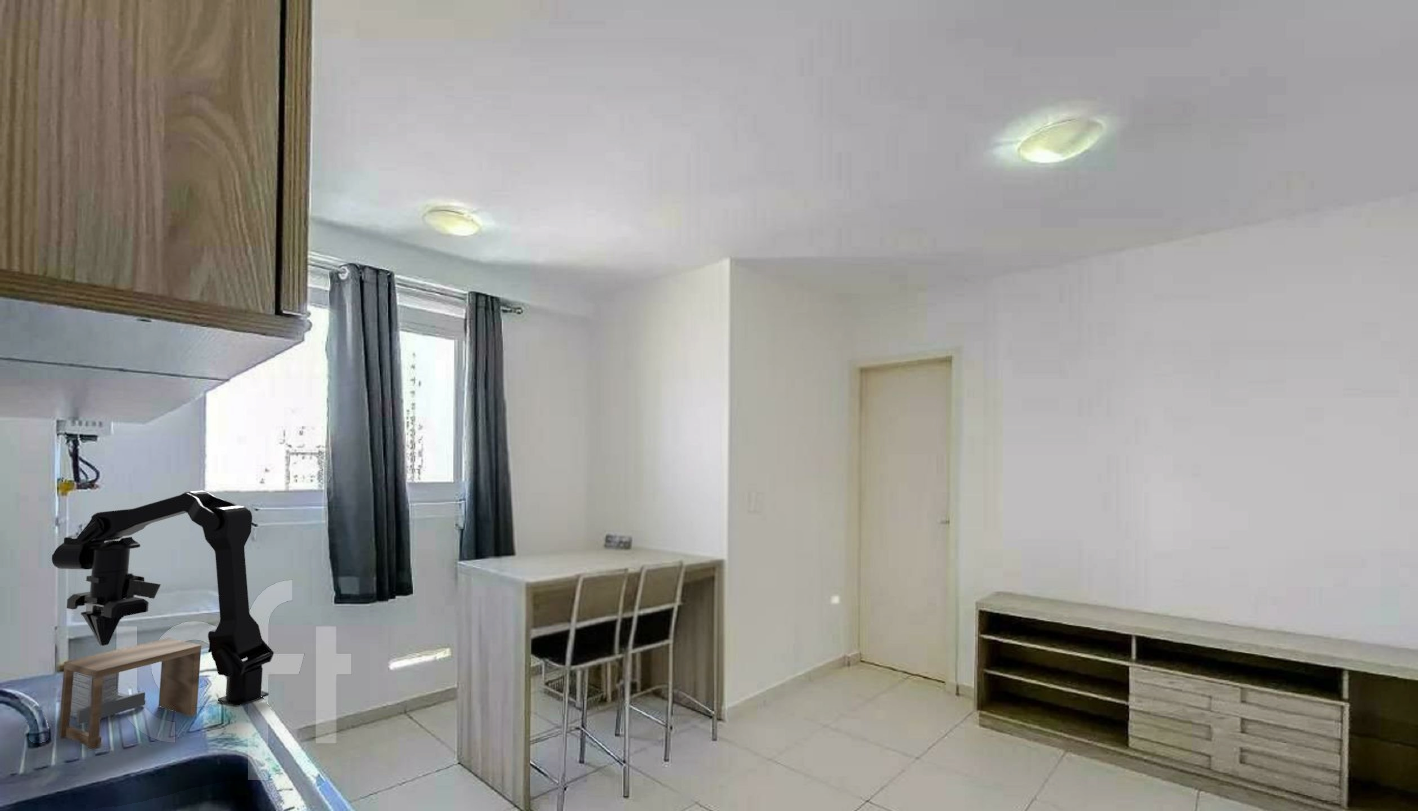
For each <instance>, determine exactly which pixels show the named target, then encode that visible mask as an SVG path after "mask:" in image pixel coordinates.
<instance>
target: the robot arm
mask: <svg viewBox="0 0 1418 811" xmlns="http://www.w3.org/2000/svg"><path fill="white" fill-rule="evenodd" d="M184 514H187V515H188V516H189V518H190V520H191V521H192V522H194V523H195V524H196V525H198V526H200V527H201V528H202V531H203V535H204V539H205V541H206V542H207V543H208V545H209V546H210V547H211V548H212V550H214V553H215V566H216V567H215V568H216V579H217V580H216V582H217V597H218V607H219V608H218V610H219V622H218V624H217V627H216V628H215V629H213V630H210V631H208V632H207V640H208V642H209V645H208V646H209V647H208V651H207V652H208V653H211V654H210V655H211V658H212V660H213V661H214V664H215V668H216V670H217V675H219V676H224V677H226V684H225V685H226V687H225V695H224V696H222V697H219V698H217V702H220V703H222V702H223V704H226V705H231V706H233V707H238V706H241V705H244V704H247V703H249V702H253V701H256V700H260V699H261V698H265V697H268V696H269V692H267V691H264V690H262V685H263V670H264V668H263V665H265V664H267V663H271V661H272V659H273V656H274V653H275V652H274V651H273V650H272V648H270V646H269V645H268V644H267V643H266V642H265V641H264V640H263V638H262V634H261V633H262V632H261V631H260V626H259V624H258V623H257V621H256V620H255V619H254V618H253V617H252V616H251V614H250V603H249V591H248V579H247V566H246V565H247V564H246V556H245V555H246V554H245V553H246V552H245V546H246V544H247V542H248V540H249V538H250V536H251V533H252V527H253V526H252V525H253V524H252V523H253V514H252V512H251V510H250V509H248V508H246V506H243V505H238V504H236V503H235V502H231V501H230V500H228V499H225V498H224V499H223V498H221V497H217V496H215V495H213V494H212V493H211V492H208V491H205V490H194V491H192V490H191V491H185V492H183V493H182V494H179V495H176V496H172V497H168V498H166V499H162V500H158V501H155V502H151V503H149V504H148V503H147V504H144V505H141V506H138V507H135V508H128V509H119V510H118V509H117V510H108V511H107V510H106V511H99V512H96V513H94V514H93V515H92V516H91V517H90V518H91V519H90V520H89V522H88V523H87V524H86V526H85V527H84V528H83V529H82V531H81V532H80V533H79V534H78V536H76V535H75V536H65V537H64V538H63V543H61V544H60V545H59V546H57V548H56V549H55V550H54V551H53V554H52V555H51V563H52V564H53V566H54V567H55V568H57V569H61V570H62V569H63V570H91V574H90V575H86V576H85V577H86V579H85V581H86V582H89V583H90V586H89V587H90V588H89V591H86V592H85V591H84V592H79V593H73V594H72V595H71V596H69V597H68V599H67V600H66V609H69V610H77V609H78V607H83V606H85V611H83V612H80V615H81V616H82V618H84V620H85V621H86V623H87V625H88V626H89V629H90V630H91V632H92V634H93V635H94V636H95V639H96V641H97V642H98V644H99V646H101V647H102V646H107V645H109V644H110V642H111V640H112V637H113V635H114V633H115V631H116V628H117V626H118V625H119V622H121V619H123V618H124V617H126V616H132V615H138V614H144V613H147V612H148V611H149V606H150V605H149V601H147V600H146V599H145V598H148V599H155V598H156V596H157V594H158V593H159V592H158V591H159V590H160V587H161V585H162V584H160V583H155V582H149V581H145V577H144V576H141V575H140V576H139V575H136V574H135V575H134V574H133V573H132V572H129V565H130V555H131V549H137V548H140V547H141V544H140V543H139V542H138V541H136V540H135V539H133V537H132V535H134V534H136V533H138V532H139V531H142V530H144V529H145V527H147V526H149V525H151V524H153V523H156V522H160V521H164V520H166V519H171V518H174V517H176V516H180V515H184ZM136 596H137V597H136ZM141 597H142V598H141ZM143 597H144V598H143ZM244 659H245V660H244ZM261 696H262V697H261Z"/></svg>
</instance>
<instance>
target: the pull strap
mask: <svg viewBox="0 0 1418 811" xmlns="http://www.w3.org/2000/svg"><path fill="white" fill-rule="evenodd" d="M145 699H146V692H145V691H139V692H135V693H132V694H125V693H122V692H120V691H118V699H114V700H111V701H107V702H103V703H101V715H100V718H101V719H104V718H103V717H105V718H107V717H106V716H108V717H111V716H114V715H113V714H115V715H116V714H120V713H123V712H126V711H129V710H132V709H136V708H140V707H143V706H145V705H146V700H145ZM90 711H91V706H89V707H86V708H82V709H79V710H77V716H76V717H75V718H76V719H75V724H76V725H78V726H79V725H83V724H86V723H90ZM110 715H111V716H110Z"/></svg>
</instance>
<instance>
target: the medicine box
mask: <svg viewBox="0 0 1418 811" xmlns="http://www.w3.org/2000/svg"><path fill="white" fill-rule="evenodd" d="M119 678H120V672H118V673H114V674H111V675H107V676H103V689H102V702H101V703H103V702H107V701H111V700H114V699H118V692H119V680H120V679H119ZM92 685H93V677H90V676H87V675H84V674H80V673H77V672H74V674H73V687H72V699H71V712H70V717H73V718H76V716H77V710H79V709H82V708H86V707H89V706H91V698H92Z"/></svg>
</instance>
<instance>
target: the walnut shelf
mask: <svg viewBox="0 0 1418 811" xmlns="http://www.w3.org/2000/svg"><path fill="white" fill-rule="evenodd" d="M201 654H202V644H197V643H192V642H188V641H183V640H179V639H174V638H170V637H167V638H163V639H159V640H154V641H151V642H150V641H149V642H146V643H145V642H144V643H141V644H138V645H133V646H129V647H128V646H127V647H125V648H124V647H123V648H121V649H115V650H111V651H107V652H101V653H98V654H94V655H93V654H92V655H89V656H84V657H80V658H76V659H72V660H67V661H64V662H63V663H64V664H63V673H62V674H63V676H62V687H61V700H60V711H59V724H58V725H59V727H58V736H59V737H60V738H59V737H58V738H59V739H64V738H67V739H69V740H73V741H75V742H78V743H80V744H83V745H86V746H87V749H88V750H90V751H91V750H94V749H98V748H99V747H102V736H100V728H101V726H100V725H101V719H100V715H101V702H102V689H103V676H107V675H111V674H114V673H118V672H119V673H121V672H125V671H129V670H133V669H138V668H141V667H145V666H150V665H154V664H157V663H161V667H160V680H159V681H160V682H159V696H158V699H159V700H158V707H159V706H161V707H160V708H162V707H163V708H162V709H165V708H166V710H168V709H170V710H169V711H171V710H173V711H172V712H175V711H176V713H179V714H182V715H184V716H185V715H186V716H188V717H192V716H197V714H198V701H199V700H198V698H199V697H198V696H199V685H200V684H199V683H200V670H201V669H200V668H201ZM74 672H77V673H80V674H84V675H87V676H90V677H93V685H92V698H91V711H90V722H88V723H89V727H88V731H86V730H82V729H80V728H76V727H74V726H71V725H70V723H71V716H70V712H71V699H72V687H73V674H74Z"/></svg>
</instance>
